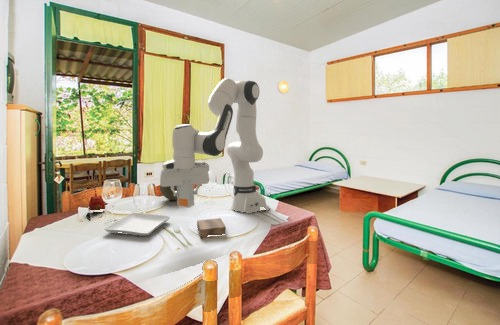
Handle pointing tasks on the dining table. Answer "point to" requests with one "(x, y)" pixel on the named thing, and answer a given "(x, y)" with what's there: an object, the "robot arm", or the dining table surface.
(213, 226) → the walnut base
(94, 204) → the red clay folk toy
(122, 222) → the salad plate
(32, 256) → the dining table surface
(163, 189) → the dark brown ball
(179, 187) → the skincare box
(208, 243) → the dining table surface
